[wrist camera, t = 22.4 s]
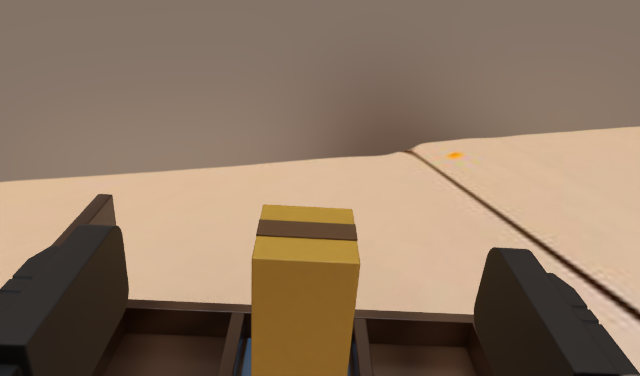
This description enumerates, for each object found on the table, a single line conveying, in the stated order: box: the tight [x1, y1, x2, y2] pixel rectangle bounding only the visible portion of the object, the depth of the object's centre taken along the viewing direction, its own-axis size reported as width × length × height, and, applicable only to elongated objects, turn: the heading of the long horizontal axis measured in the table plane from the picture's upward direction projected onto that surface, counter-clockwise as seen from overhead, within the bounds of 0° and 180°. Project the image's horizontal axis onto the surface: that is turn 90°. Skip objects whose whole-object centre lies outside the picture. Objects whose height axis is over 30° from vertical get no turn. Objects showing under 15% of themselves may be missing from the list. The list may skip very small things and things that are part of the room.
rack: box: [51, 194, 495, 376], centre depth 26 cm, size 23×9×10 cm, turn 91°
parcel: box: [251, 205, 360, 376], centre depth 25 cm, size 5×5×10 cm
